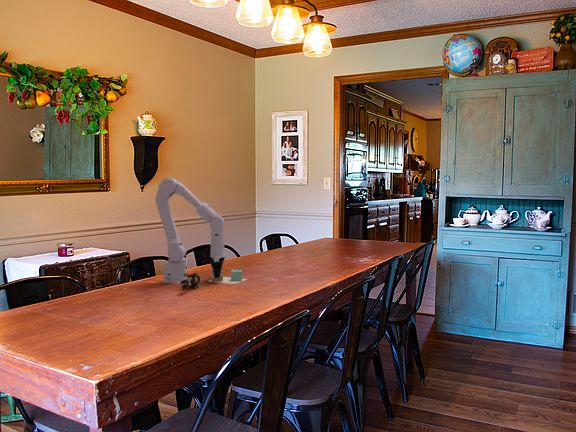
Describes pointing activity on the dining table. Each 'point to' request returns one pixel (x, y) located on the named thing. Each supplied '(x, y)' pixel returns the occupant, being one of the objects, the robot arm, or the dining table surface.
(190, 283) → the toy
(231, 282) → the plate
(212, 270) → the maple block
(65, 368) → the dining table surface
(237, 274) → the teal block
